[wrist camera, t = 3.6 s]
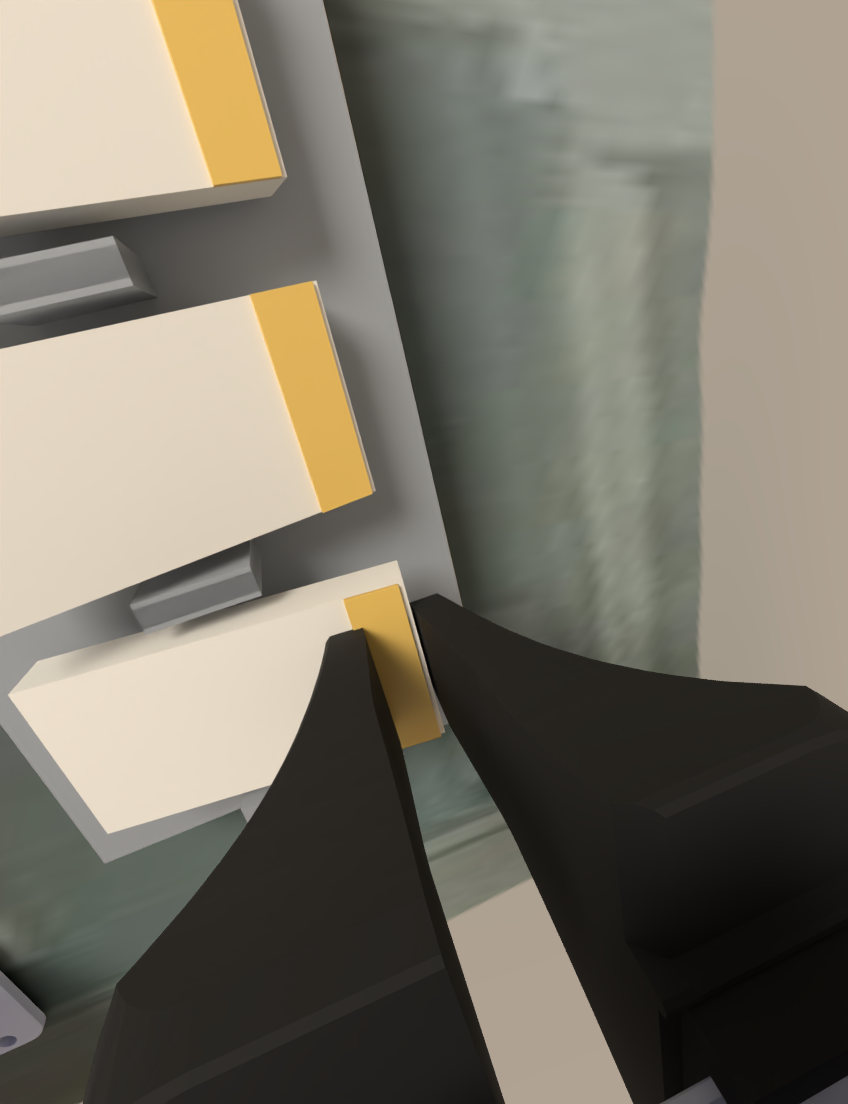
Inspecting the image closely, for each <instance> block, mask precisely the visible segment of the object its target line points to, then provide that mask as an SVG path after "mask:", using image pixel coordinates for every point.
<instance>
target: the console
mask: <svg viewBox="0 0 848 1104" xmlns="http://www.w3.org/2000/svg"><path fill="white" fill-rule="evenodd" d="M238 4H239V7H240V11H241V14H242V18H243V21H244V25H245V28H246V32H247V36H248V39H249V43H250V46H251V50H252V53H253V57H254V60H255V64H256V68H257V71H258V75H259V78H260V82H261V85H262V89H263V92H264V96H265V100H266V103H267V107H268V110H269V114H270V117H271V121H272V124H273V128H274V131H275V135H276V139H277V142H278V146H279V149H280V153H281V156H282V160H283V163H284V167H285V171H286V174H287V178H286V179H285V180H284V181H283V183H282V184H281V185H280V186H279V188H278V189H277V190H276V191H275V193H274V194H273V195H272V196H270V197H264V198H257V199H251V200H244V201H237V202H231V203H224V204H217V205H211V206H204V207H197V208H191V209H184V210H178V211H171V212H164V213H158V214H151V215H144V216H138V217H131V218H124V219H118V220H111V221H104V222H98V223H91V224H85V225H78V226H71V227H65V228H58V229H51V230H45V231H38V232H31V233H25V234H18V235H11V236H5V237H0V349H3V348H8V347H12V346H17V345H22V344H26V343H31V342H35V341H40V340H45V339H49V338H54V337H58V336H63V335H68V334H72V333H77V332H81V331H86V330H91V329H95V328H100V327H104V326H109V325H114V324H118V323H123V322H127V321H132V320H137V319H141V318H146V317H150V316H155V315H160V314H164V313H169V312H174V311H178V310H183V309H187V308H192V307H197V306H201V305H206V304H210V303H215V302H220V301H224V300H229V299H233V298H238V297H243V296H247V295H250V294H254V293H259V292H263V291H268V290H272V289H277V288H282V287H286V286H291V285H295V284H300V283H305V282H309V281H317V284H318V288H319V291H320V295H321V298H322V302H323V306H324V309H325V313H326V316H327V320H328V323H329V327H330V330H331V334H332V338H333V341H334V345H335V348H336V352H337V355H338V359H339V362H340V366H341V370H342V373H343V377H344V380H345V384H346V387H347V391H348V394H349V398H350V402H351V405H352V409H353V412H354V416H355V419H356V423H357V426H358V430H359V433H360V437H361V441H362V444H363V448H364V451H365V455H366V458H367V462H368V465H369V469H370V473H371V476H372V480H373V483H374V487H375V490H376V491H374V492H373V494H371V495H368V496H366V497H363V498H360V499H358V500H355V501H353V502H350V503H348V504H345V505H342V506H340V507H337V508H335V509H332V510H330V511H327V512H324V513H322V512H320V513H318V514H315V515H312V516H310V517H307V518H305V519H302V520H300V521H297V522H294V523H292V524H289V525H287V526H284V527H281V528H279V529H276V530H274V531H271V532H269V533H266V534H263V535H261V536H258V537H256V538H253V539H251V540H248V541H245V542H243V543H240V544H238V545H235V546H233V547H230V548H227V549H225V550H222V551H220V552H217V553H214V554H212V555H209V556H207V557H204V558H202V559H199V560H196V561H194V562H191V563H189V564H186V565H184V566H181V567H178V568H176V569H173V570H171V571H168V572H166V573H163V574H160V575H158V576H155V577H153V578H150V579H147V580H145V581H142V582H140V583H137V584H135V585H132V586H129V587H127V588H124V589H122V590H119V591H117V592H114V593H111V594H109V595H106V596H104V597H101V598H98V599H96V600H93V601H91V602H88V603H86V604H83V605H80V606H78V607H75V608H73V609H70V610H68V611H65V612H62V613H60V614H57V615H55V616H52V617H50V618H47V619H44V620H42V621H39V622H37V623H34V624H31V625H29V626H26V627H24V628H21V629H19V630H16V631H13V632H11V633H8V634H6V635H3V636H1V637H0V724H1V726H2V727H3V728H4V730H5V731H6V732H7V734H8V735H9V736H10V738H11V739H12V740H13V742H14V743H15V744H16V746H17V747H18V748H19V750H20V751H21V752H22V754H23V755H24V756H25V758H26V759H27V760H28V762H29V763H30V764H31V766H32V767H33V768H34V770H35V771H36V772H37V774H38V775H39V776H40V778H41V779H42V780H43V782H44V783H45V784H46V786H47V787H48V788H49V790H50V791H51V792H52V794H53V795H54V796H55V798H56V799H57V800H58V802H59V803H60V804H61V806H62V807H63V808H64V810H65V811H66V812H67V814H68V815H69V816H70V818H71V819H72V820H73V822H74V823H75V824H76V826H77V827H78V828H79V830H80V831H81V832H82V834H83V835H84V836H85V838H86V839H87V840H88V842H89V843H90V845H91V846H92V847H93V849H94V850H95V851H96V853H97V854H98V855H99V857H100V858H101V859H102V861H103V862H104V863H107V862H110V861H112V860H115V859H117V858H120V857H122V856H124V855H127V854H129V853H132V852H134V851H137V850H139V849H142V848H144V847H147V846H149V845H151V844H154V843H156V842H159V841H161V840H164V839H166V838H169V837H171V836H174V835H176V834H179V833H181V832H183V831H186V830H188V829H191V828H193V827H196V826H198V825H201V824H203V823H206V822H208V821H210V820H213V819H215V818H218V817H220V816H223V815H225V814H228V813H230V812H233V811H235V810H237V809H240V808H241V811H242V813H243V815H244V817H245V819H246V820H247V822H249V820H250V819H251V817H252V815H253V814H254V812H255V811H256V809H257V808H258V806H259V804H260V803H261V801H262V799H263V798H264V796H265V794H266V792H267V791H268V789H269V787H270V786H271V785H269V786H266V787H262V788H259V789H256V790H252V791H249V792H246V793H242V794H239V795H236V796H232V797H229V798H226V799H222V800H219V801H216V802H213V803H209V804H206V805H203V806H199V807H196V808H193V809H189V810H186V811H183V812H179V813H176V814H173V815H169V816H166V817H163V818H159V819H156V820H153V821H149V822H146V823H143V824H140V825H136V826H133V827H130V828H126V829H123V830H120V831H116V832H113V833H110V834H107V832H106V831H105V830H104V828H103V827H102V825H101V824H100V823H99V821H98V820H97V818H96V817H95V816H94V814H93V813H92V812H91V810H90V809H89V807H88V806H87V805H86V803H85V802H84V800H83V799H82V798H81V796H80V795H79V793H78V792H77V791H76V789H75V788H74V786H73V785H72V784H71V782H70V781H69V780H68V778H67V777H66V775H65V774H64V773H63V771H62V770H61V768H60V767H59V766H58V764H57V763H56V761H55V760H54V759H53V757H52V756H51V754H50V753H49V752H48V750H47V749H46V748H45V746H44V745H43V743H42V742H41V741H40V739H39V738H38V736H37V735H36V734H35V732H34V731H33V729H32V728H31V727H30V725H29V724H28V722H27V721H26V720H25V718H24V717H23V716H22V714H21V713H20V711H19V710H18V709H17V707H16V706H15V704H14V703H13V702H12V700H11V699H10V697H9V696H8V694H9V693H10V692H11V691H12V690H13V688H14V687H15V686H16V685H17V684H18V683H19V682H20V680H21V679H22V678H23V677H24V676H25V675H26V674H27V672H28V671H29V670H30V669H31V668H32V667H33V666H34V664H35V663H36V662H37V661H40V660H43V659H47V658H50V657H54V656H58V655H61V654H65V653H68V652H72V651H75V650H79V649H83V648H86V647H90V646H93V645H97V644H100V643H104V642H107V641H111V640H115V639H118V638H122V637H125V636H129V635H132V634H136V633H139V632H143V631H144V633H145V634H146V635H147V634H150V633H153V632H156V631H158V630H161V629H164V628H167V627H170V626H173V625H176V624H179V623H182V622H185V621H188V620H191V619H194V618H197V617H200V616H203V615H206V614H209V613H212V612H215V611H218V610H221V609H225V608H228V607H232V606H236V605H239V604H243V603H246V602H250V601H253V600H257V599H260V598H264V597H268V596H271V595H275V594H278V593H282V592H285V591H289V590H293V589H296V588H300V587H303V586H307V585H310V584H314V583H317V582H321V581H325V580H328V579H332V578H335V577H339V576H342V575H346V574H349V573H353V572H357V571H360V570H364V569H367V568H371V567H374V566H378V565H382V564H385V563H389V562H392V561H396V560H397V562H398V565H399V569H400V572H401V576H402V579H403V583H404V586H405V590H406V594H407V597H408V601H409V603H410V602H413V601H416V600H419V599H422V598H425V597H427V596H430V595H433V594H436V593H438V594H440V595H442V596H443V597H445V598H447V599H449V600H451V601H453V602H454V603H456V604H458V605H460V606H462V602H461V597H460V593H459V589H458V584H457V580H456V576H455V571H454V567H453V563H452V558H451V554H450V550H449V545H448V541H447V537H446V532H445V528H444V524H443V520H442V516H441V511H440V507H439V503H438V498H437V494H436V490H435V485H434V481H433V477H432V472H431V468H430V464H429V459H428V455H427V451H426V446H425V442H424V438H423V433H422V428H421V424H420V419H419V415H418V411H417V406H416V402H415V398H414V393H413V389H412V385H411V380H410V376H409V372H408V367H407V363H406V359H405V354H404V350H403V346H402V341H401V337H400V333H399V328H398V324H397V320H396V315H395V311H394V306H393V302H392V298H391V294H390V290H389V286H388V281H387V277H386V273H385V268H384V264H383V260H382V255H381V251H380V247H379V242H378V238H377V234H376V229H375V225H374V221H373V216H372V212H371V208H370V203H369V199H368V195H367V190H366V186H365V182H364V177H363V173H362V169H361V164H360V159H359V154H358V150H357V146H356V141H355V137H354V133H353V128H352V124H351V120H350V115H349V111H348V107H347V102H346V98H345V94H344V89H343V85H342V81H341V76H340V72H339V68H338V63H337V59H336V55H335V50H334V46H333V42H332V37H331V33H330V29H329V24H328V20H327V15H326V11H325V7H324V2H323V0H238ZM462 607H463V606H462ZM433 690H434V689H433ZM434 694H435V691H434ZM435 697H436V701H437V704H438V708H439V712H440V715H441V719H442V722H443V726H444V725H446V724H449V723H448V721H447V719H446V717H445V714H444V712H443V710H442V707H441V705H440V703H439V701H438V698H437V696H436V694H435Z"/></svg>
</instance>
